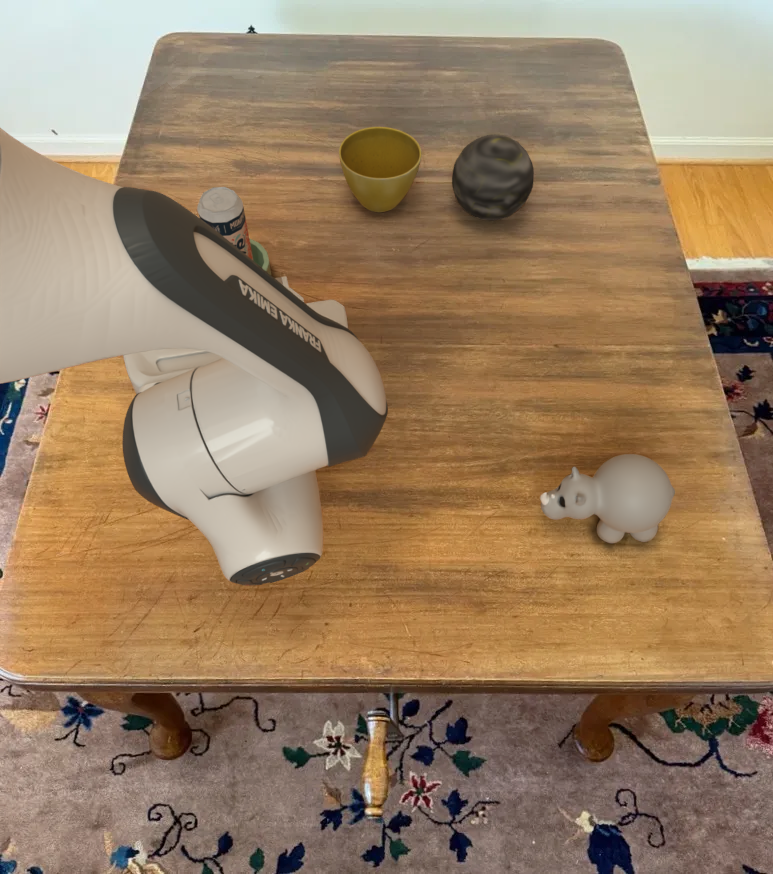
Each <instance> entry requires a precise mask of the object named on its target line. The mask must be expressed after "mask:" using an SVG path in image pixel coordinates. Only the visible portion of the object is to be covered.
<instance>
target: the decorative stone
mask: <svg viewBox="0 0 773 874" xmlns="http://www.w3.org/2000/svg"><path fill="white" fill-rule="evenodd" d="M534 169H535V168H534V165H533V161H532V159H531V157H530V154H529V152H528V151H527V150H526V149H525V147H524V146H522V144H521V143H520V142H519V141H517V140H515V139H513V138H512V137H510V136H507V135H504V134H495V133H494V134H487V135H484V136H480V137H477V138H475V139H474V140H473V141H471V142H470V143H468V144H467V145H466V146H465V147H464V148H463V149H462V151H461V152H460V153H459V155H458V157H457V158H456V160H455V161H454V164H453V169H452V175H451V187H452V190H453V193H454V196H455V200H456V201H457V203H458V204H459V206H460V207H461V208H462V209H463V210H464V211H465V212H466V213H467V214H469V215H470V216H472V217H473V218H476V219H479V220H482V221H489V222H490V221H491V222H492V221H493V222H495V221H501V220H503V219H506V218H509V217H512V216H513V215H514V214H515V213H516V212H518V211H519V210H521V208H523V207H524V206H525V204H526V202H527V200H528V199H529V197H530V195H531V193H532V190H533V187H534V181H535V180H534V179H535V178H534V177H535V171H534Z"/></svg>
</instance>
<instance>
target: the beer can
mask: <svg viewBox="0 0 773 874" xmlns="http://www.w3.org/2000/svg"><path fill="white" fill-rule="evenodd" d="M244 207H245V206H244V203H243V200H242V198H241V197H240V196H239V195H238V194H237V193H236V192H235V190H234V189H231V188H229V187H226V186H214V187H211V188H209V189H208V190H205V191H204V192H202V194H201V196H200V197H199V201H198V204H197V208H196V210H197V211H196V212H197V213H198V217H199V218H200V219H201V220H203V221H204V222H205V223H207V224H208V225H209V226H211V227H212V228H213V229H214V230H216V231H217V232H218V233H220V234H221V235H222V236H223V237H225V238H226V239H227V240H228V241H230V242H231V243H232V244H233V245H235V246H236V247H237V248H238V249H240V250H241V251H242V252H243V253H244V254H246V255H247V256H248V257H249V258H251V259H252V260H253V256H252V250H251V245H250V240H249V238H250V235H249V229H248V223H247V219H246V213H245V212H246V211H245V208H244Z"/></svg>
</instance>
